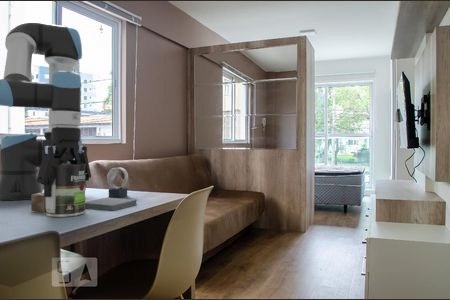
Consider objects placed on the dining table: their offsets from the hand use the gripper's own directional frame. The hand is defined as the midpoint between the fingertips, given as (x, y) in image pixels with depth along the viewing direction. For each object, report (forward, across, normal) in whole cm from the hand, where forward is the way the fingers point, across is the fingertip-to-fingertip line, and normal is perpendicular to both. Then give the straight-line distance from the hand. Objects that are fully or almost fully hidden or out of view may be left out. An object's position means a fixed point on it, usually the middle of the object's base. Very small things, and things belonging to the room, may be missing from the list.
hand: (66, 205), depth 100 cm
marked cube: (+2, +1, +9) cm, 9 cm away
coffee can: (+2, 0, 0) cm, 2 cm away
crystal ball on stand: (+2, +32, +7) cm, 33 cm away
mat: (+2, +15, -3) cm, 15 cm away
